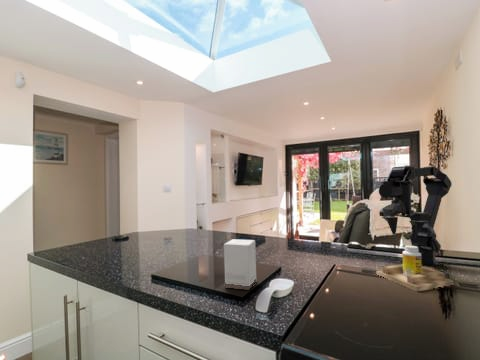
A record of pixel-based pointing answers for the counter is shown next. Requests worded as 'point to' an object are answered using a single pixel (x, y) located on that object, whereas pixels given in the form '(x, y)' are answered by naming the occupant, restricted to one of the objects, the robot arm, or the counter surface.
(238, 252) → the supplement box
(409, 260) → the supplement bottle
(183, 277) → the counter surface
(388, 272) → the stand
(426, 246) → the robot arm
